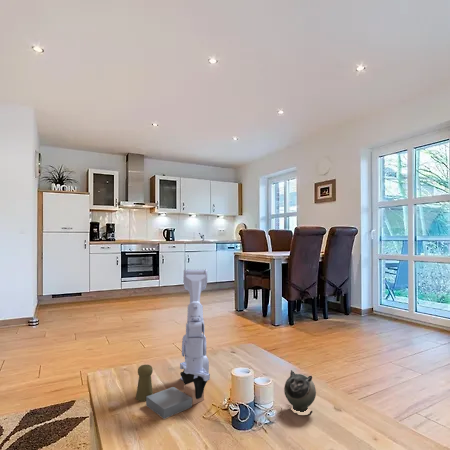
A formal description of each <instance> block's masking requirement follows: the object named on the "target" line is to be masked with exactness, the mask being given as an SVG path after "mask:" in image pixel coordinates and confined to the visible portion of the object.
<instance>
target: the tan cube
mask: <svg viewBox="0 0 450 450" xmlns="http://www.w3.org/2000/svg"><path fill="white" fill-rule="evenodd" d="M183 393H185V394H187V395H188V396H190V397H192V406H193V405H196V404H199V403H200V402H203V401H204V400H205V389H204V390H203V394H202V398H199V399H196V396H195V386H194V382H191V383H189V384H186V385H184V384H183Z"/></svg>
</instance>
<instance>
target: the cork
mask: <svg viewBox="0 0 450 450" xmlns="http://www.w3.org/2000/svg"><path fill="white" fill-rule="evenodd" d="M152 374H153V367H152V365H150V364H142V365H139V366H138V369H137V375H138V381H137V387H136V392H135V393H136V394H135V400H136V401H138V402H146V396H149V395H152V394H154V393H153V382H152Z"/></svg>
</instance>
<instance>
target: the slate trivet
mask: <svg viewBox="0 0 450 450" xmlns="http://www.w3.org/2000/svg"><path fill="white" fill-rule="evenodd" d="M145 406H146V407H147V408H149V410H151V411H152V412H154V413H155V414H157V415H158V416H159V417H161V418H162V419H163V420H166V419H168V418H170V417H172V416H175V415H177V414H179V413H182V412H184V411H186V410H188V409H190V408H193V405H192V397H190V396H188V395H187V394H185V393H184V391H181V390H180V389H178V388H176V387H174V386H171V387H168V388H166V389H162V390H161V391H158V392H155V393H153V394H152V395H149V396H146V401H145Z"/></svg>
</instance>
